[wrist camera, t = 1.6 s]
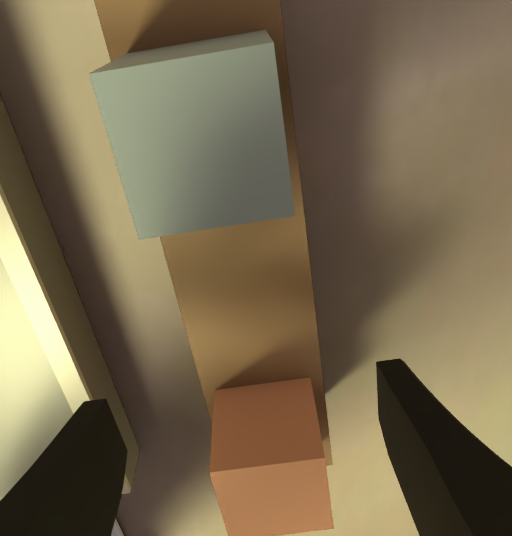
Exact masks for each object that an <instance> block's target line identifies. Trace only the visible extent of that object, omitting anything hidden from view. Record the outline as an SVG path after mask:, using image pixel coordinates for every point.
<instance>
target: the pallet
mask: <svg viewBox="0 0 512 536" xmlns="http://www.w3.org/2000/svg"><path fill="white" fill-rule="evenodd" d="M94 2H95V6H96V9H97V13H98V16H99V20H100V24H101V27H102V31H103V34H104V38H105V42H106V45H107V49H108V52H109V56H110V60H111V62H112V61H114V60H115V59H117V58H119V57H121V56H123V55H125V54H127V53H132V52H138V51H144V50H150V49H156V48H162V47H167V46H173V45H179V44H185V43H191V42H196V41H202V40H208V39H214V38H220V37H226V36H231V35H237V34H243V33H249V32H255V31H260V30H266V31H267V33H268V34H269V36H270V37H271V39H272V41H273V42H274V49H275V57H276V65H277V73H278V81H279V89H280V98H281V106H282V114H283V122H284V130H285V138H286V146H287V154H288V162H289V170H290V179H291V187H292V195H293V203H294V211H295V216H291V217H285V218H278V219H272V220H265V221H258V222H252V223H245V224H239V225H232V226H226V227H219V228H212V229H206V230H199V231H193V232H186V233H179V234H173V235H166V236H160V240H161V243H162V247H163V250H164V254H165V258H166V261H167V265H168V268H169V272H170V276H171V279H172V283H173V286H174V290H175V294H176V297H177V301H178V304H179V308H180V312H181V315H182V319H183V322H184V326H185V330H186V333H187V337H188V340H189V344H190V348H191V351H192V355H193V358H194V362H195V366H196V369H197V373H198V376H199V380H200V384H201V387H202V391H203V394H204V398H205V402H206V405H207V409H208V412H209V416H210V420H211V423H212V422H213V407H214V392H215V390H220V389H227V388H235V387H242V386H250V385H257V384H265V383H272V382H279V381H287V380H294V379H302V378H309V377H310V378H311V383H312V389H313V394H314V400H315V405H316V411H317V416H318V422H319V427H320V433H321V439H322V444H323V450H324V455H325V462H326V466H327V465H333V463H332V455H331V446H330V437H329V428H328V419H327V411H326V402H325V393H324V384H323V375H322V366H321V358H320V349H319V340H318V331H317V322H316V313H315V305H314V296H313V287H312V278H311V269H310V260H309V252H308V243H307V234H306V225H305V216H304V208H303V199H302V190H301V181H300V172H299V163H298V155H297V146H296V137H295V128H294V119H293V110H292V102H291V93H290V84H289V75H288V66H287V57H286V49H285V40H284V31H283V22H282V13H281V4H280V0H94Z"/></svg>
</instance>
